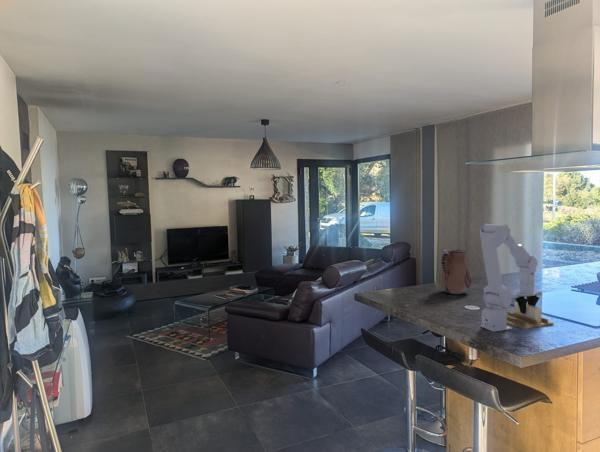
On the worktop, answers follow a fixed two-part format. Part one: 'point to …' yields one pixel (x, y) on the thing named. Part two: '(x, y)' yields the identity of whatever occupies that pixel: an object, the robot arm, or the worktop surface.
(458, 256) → the ceramic pitcher
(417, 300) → the worktop surface
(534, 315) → the cream rectangular block
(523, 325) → the ridged tan board
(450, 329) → the worktop surface
